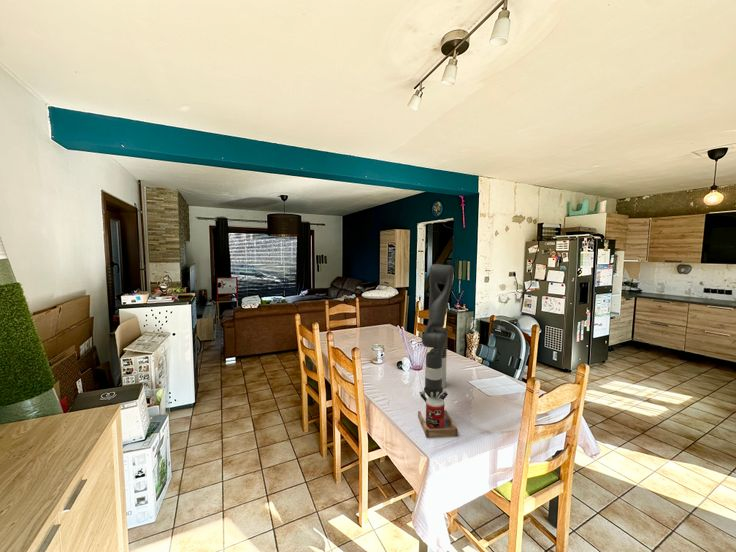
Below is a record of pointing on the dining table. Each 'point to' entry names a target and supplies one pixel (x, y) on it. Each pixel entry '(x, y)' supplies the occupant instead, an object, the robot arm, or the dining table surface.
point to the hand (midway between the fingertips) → (433, 412)
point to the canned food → (435, 413)
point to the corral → (439, 432)
